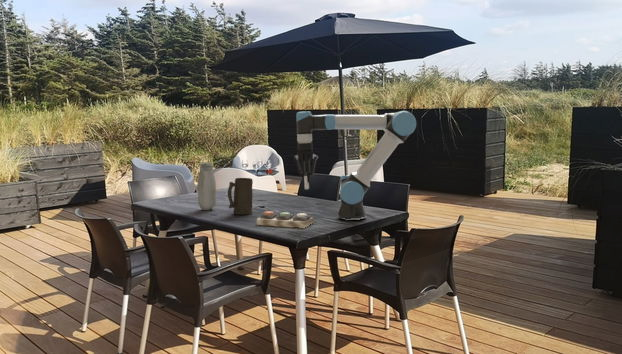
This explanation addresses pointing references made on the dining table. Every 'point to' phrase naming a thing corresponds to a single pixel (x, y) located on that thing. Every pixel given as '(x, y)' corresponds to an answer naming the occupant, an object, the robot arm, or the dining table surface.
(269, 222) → the button panel
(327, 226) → the dining table surface
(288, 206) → the dining table surface
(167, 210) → the dining table surface
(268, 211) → the terracotta button
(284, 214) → the sage button
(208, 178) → the glass bottle
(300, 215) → the cream button
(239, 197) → the beer stein
